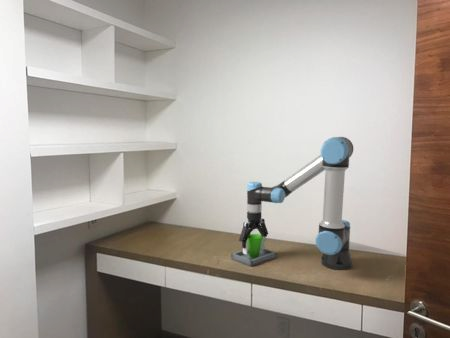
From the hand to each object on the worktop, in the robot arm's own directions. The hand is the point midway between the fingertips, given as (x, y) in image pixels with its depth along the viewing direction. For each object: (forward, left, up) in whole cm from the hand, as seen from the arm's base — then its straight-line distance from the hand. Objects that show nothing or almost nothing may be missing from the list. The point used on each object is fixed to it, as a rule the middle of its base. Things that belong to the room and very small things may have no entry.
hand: (253, 251), depth 190 cm
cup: (0, 0, -3) cm, 3 cm away
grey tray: (0, 0, -4) cm, 4 cm away
